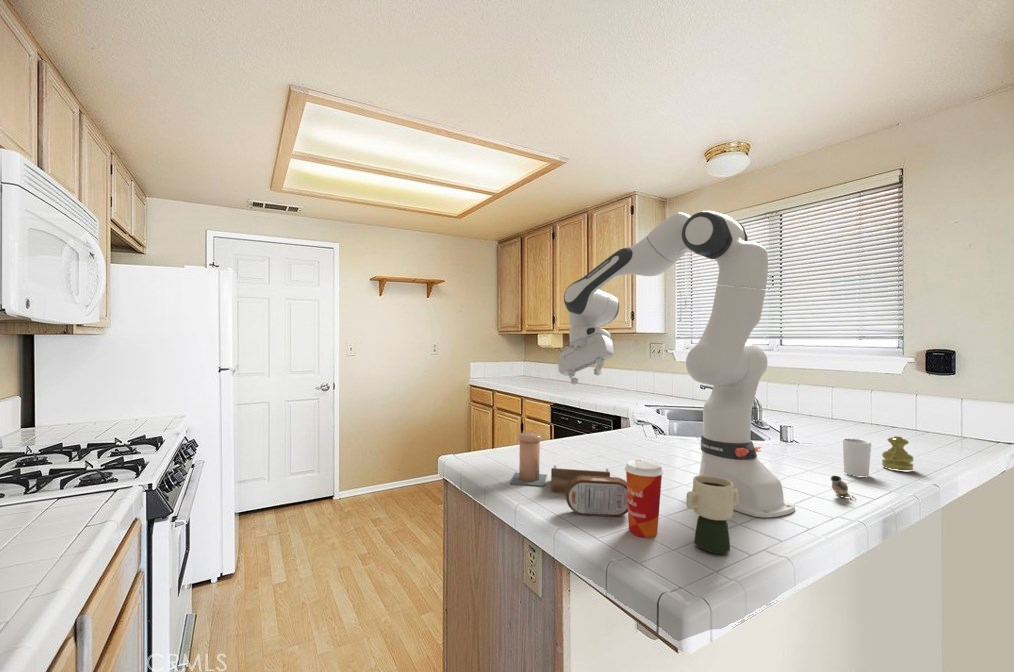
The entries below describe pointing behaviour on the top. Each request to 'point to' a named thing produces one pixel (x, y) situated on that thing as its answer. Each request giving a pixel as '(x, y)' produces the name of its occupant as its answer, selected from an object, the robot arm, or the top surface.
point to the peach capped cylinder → (529, 456)
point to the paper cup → (643, 496)
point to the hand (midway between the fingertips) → (585, 379)
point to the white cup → (856, 456)
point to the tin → (597, 496)
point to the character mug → (712, 511)
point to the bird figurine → (840, 487)
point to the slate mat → (540, 482)
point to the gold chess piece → (897, 455)
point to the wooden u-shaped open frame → (570, 477)
